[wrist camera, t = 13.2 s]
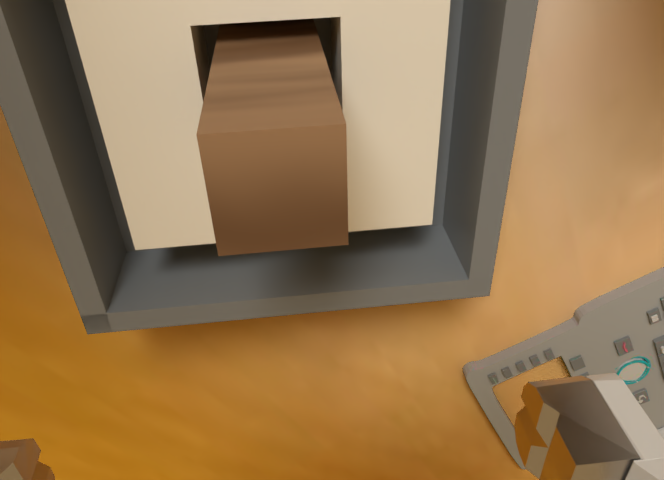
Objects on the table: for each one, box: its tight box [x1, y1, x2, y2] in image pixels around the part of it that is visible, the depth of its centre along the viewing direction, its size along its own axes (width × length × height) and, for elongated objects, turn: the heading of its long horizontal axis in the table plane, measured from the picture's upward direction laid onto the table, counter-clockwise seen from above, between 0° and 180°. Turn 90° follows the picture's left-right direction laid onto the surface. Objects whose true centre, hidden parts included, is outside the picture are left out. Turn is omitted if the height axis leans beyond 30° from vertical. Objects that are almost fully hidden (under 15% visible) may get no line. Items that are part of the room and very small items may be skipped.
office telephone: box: [463, 267, 664, 469], centre depth 44 cm, size 23×3×20 cm
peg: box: [196, 18, 349, 256], centre depth 21 cm, size 4×4×12 cm
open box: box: [0, 0, 538, 334], centre depth 25 cm, size 22×20×6 cm
